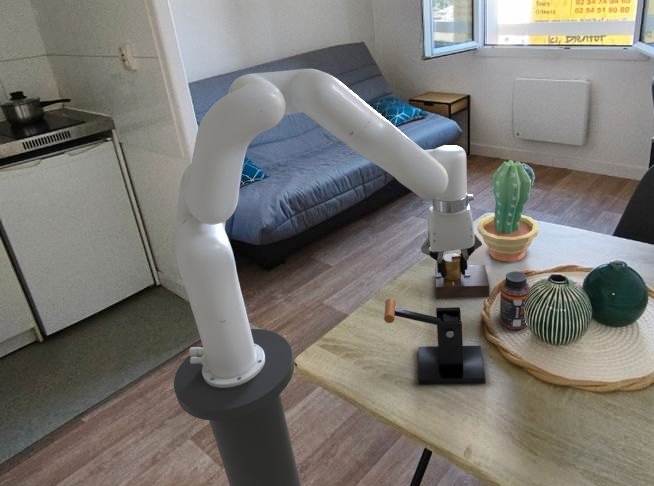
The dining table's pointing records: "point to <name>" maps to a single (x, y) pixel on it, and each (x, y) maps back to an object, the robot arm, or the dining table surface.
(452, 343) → the bracket
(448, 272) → the knob
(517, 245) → the potted cactus
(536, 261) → the dining table surface
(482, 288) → the dial panel
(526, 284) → the supplement bottle
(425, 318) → the lever handle
